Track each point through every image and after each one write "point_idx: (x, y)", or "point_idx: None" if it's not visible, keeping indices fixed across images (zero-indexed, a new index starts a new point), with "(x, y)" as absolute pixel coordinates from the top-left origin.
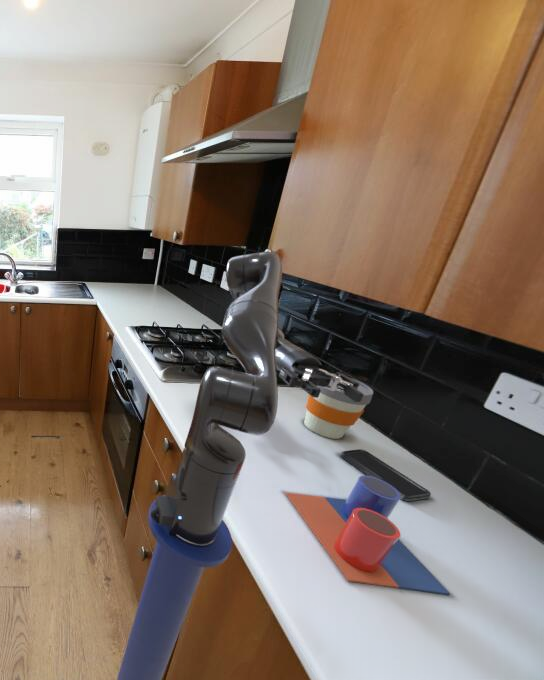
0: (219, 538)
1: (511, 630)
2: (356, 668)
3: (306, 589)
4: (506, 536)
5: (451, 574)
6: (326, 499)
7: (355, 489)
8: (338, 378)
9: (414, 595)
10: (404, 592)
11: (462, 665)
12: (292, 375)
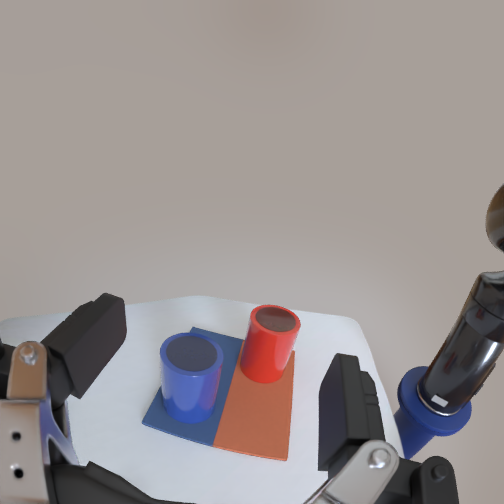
0: (412, 385)
1: (174, 306)
2: (334, 316)
3: (342, 351)
4: (20, 330)
5: (157, 336)
6: (214, 440)
7: (216, 380)
8: (38, 404)
9: (232, 335)
10: (240, 338)
11: (252, 305)
12: (447, 491)
